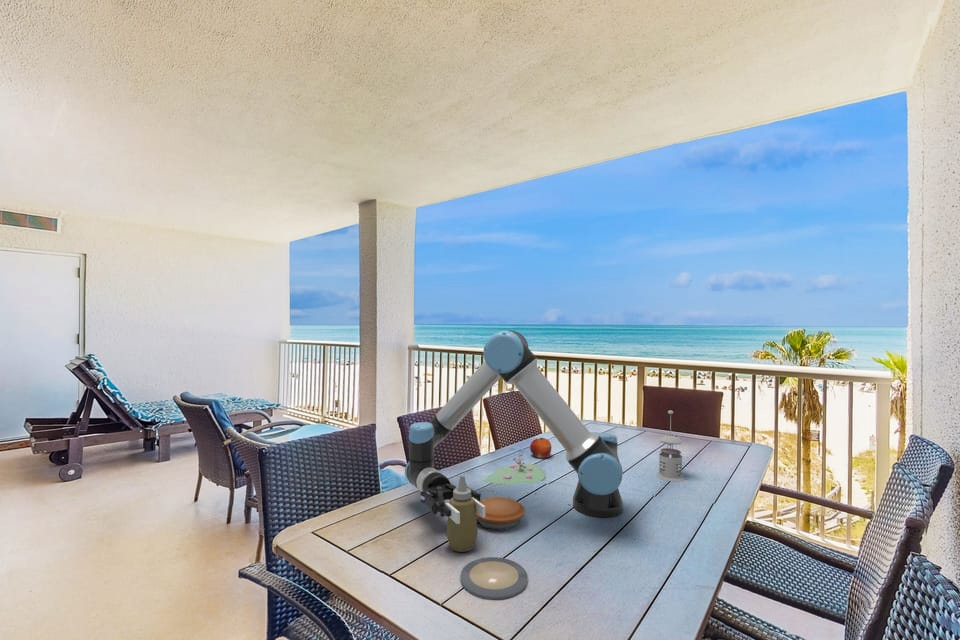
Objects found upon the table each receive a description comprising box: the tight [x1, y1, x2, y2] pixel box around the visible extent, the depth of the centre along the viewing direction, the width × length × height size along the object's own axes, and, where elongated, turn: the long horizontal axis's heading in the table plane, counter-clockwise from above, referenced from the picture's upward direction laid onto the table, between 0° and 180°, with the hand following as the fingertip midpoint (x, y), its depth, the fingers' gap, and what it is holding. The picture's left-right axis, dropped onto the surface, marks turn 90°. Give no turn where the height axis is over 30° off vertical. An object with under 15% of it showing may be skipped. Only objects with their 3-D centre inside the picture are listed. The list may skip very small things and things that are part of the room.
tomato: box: [529, 437, 553, 459], centre depth 190 cm, size 9×9×8 cm
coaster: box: [460, 556, 529, 601], centre depth 99 cm, size 15×15×1 cm
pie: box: [476, 496, 526, 531], centre depth 128 cm, size 16×16×5 cm
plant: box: [483, 450, 547, 486], centre depth 166 cm, size 25×21×9 cm
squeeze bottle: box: [445, 475, 478, 553], centre depth 112 cm, size 8×8×18 cm
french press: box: [656, 409, 686, 482], centre depth 166 cm, size 10×12×25 cm
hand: (471, 515), depth 108 cm, fingers closed on squeeze bottle, 6 cm apart
